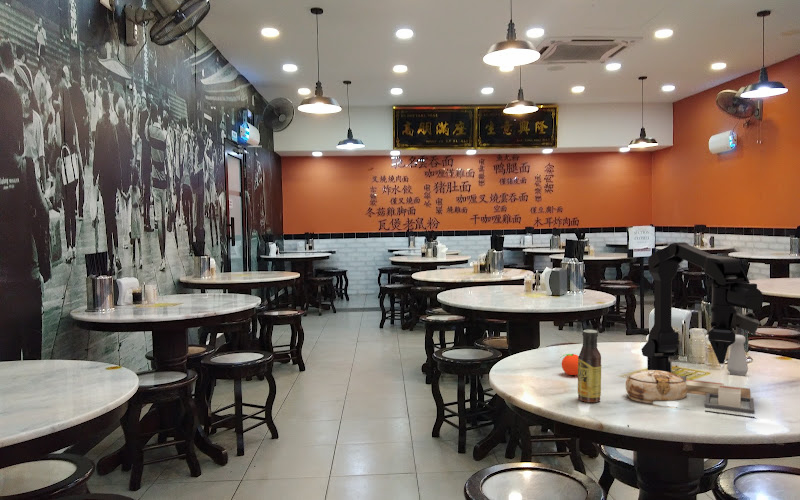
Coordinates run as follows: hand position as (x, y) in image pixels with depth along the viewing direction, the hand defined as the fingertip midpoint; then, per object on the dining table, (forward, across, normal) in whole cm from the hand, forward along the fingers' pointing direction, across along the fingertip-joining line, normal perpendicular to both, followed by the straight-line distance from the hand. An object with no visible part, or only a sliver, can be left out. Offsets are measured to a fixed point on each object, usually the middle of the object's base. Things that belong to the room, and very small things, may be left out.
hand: (722, 359), depth 157 cm
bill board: (+11, +4, +2) cm, 12 cm away
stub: (+10, -8, -2) cm, 13 cm away
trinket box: (+12, -7, +16) cm, 21 cm away
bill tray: (+11, -8, -2) cm, 14 cm away
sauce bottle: (+12, -17, +32) cm, 38 cm away
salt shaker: (+12, +30, -4) cm, 32 cm away
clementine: (+13, +7, +43) cm, 45 cm away
